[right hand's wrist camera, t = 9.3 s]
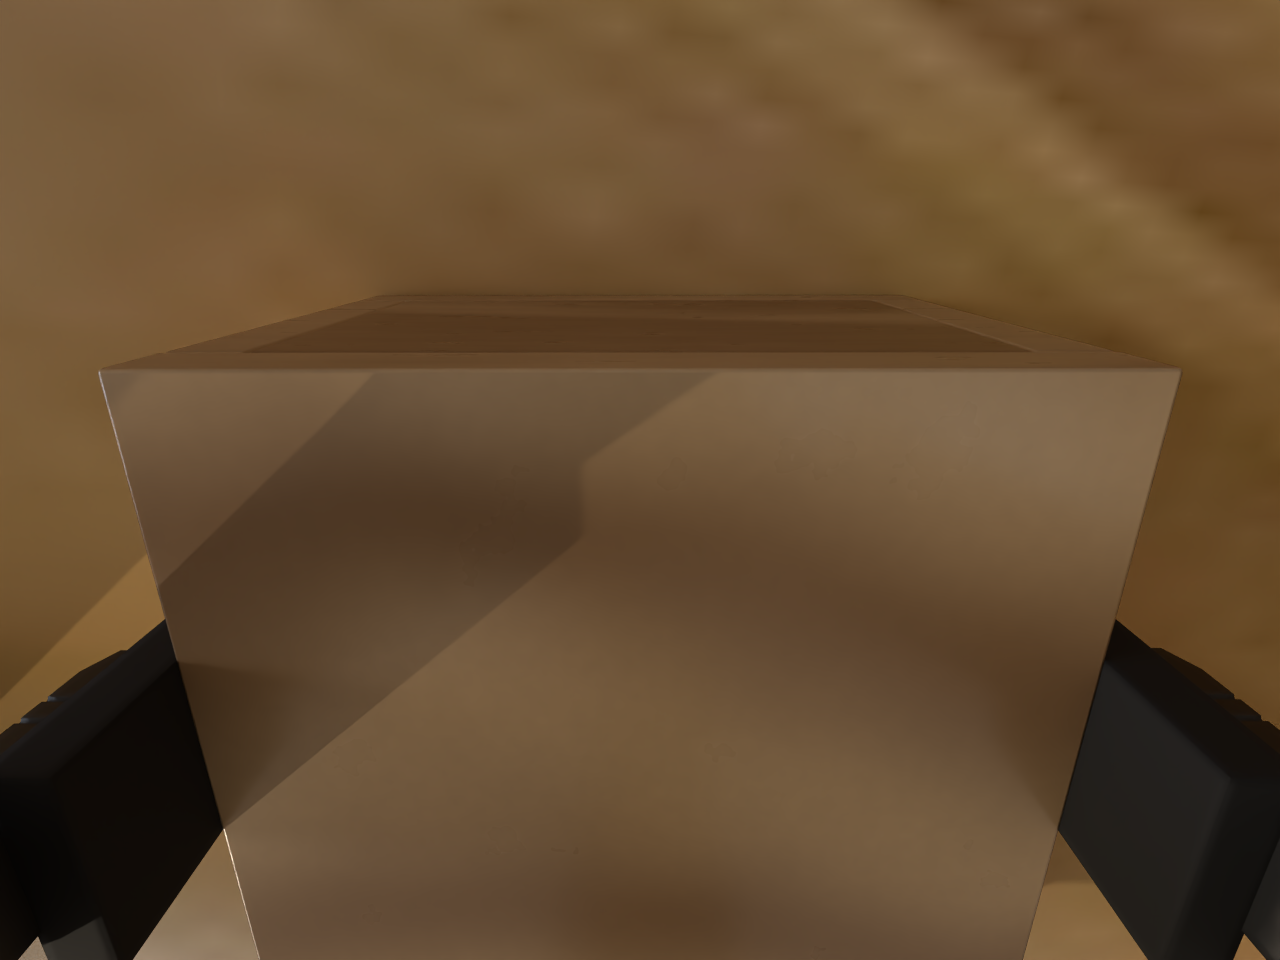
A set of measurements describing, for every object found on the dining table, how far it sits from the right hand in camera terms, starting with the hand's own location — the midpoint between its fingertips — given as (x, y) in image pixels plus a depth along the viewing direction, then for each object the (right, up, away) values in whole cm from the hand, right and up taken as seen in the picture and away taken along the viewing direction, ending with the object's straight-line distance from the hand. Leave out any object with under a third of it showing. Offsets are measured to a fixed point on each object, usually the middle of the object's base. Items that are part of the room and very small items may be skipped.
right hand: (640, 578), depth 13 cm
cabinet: (0, -2, +4) cm, 5 cm away
